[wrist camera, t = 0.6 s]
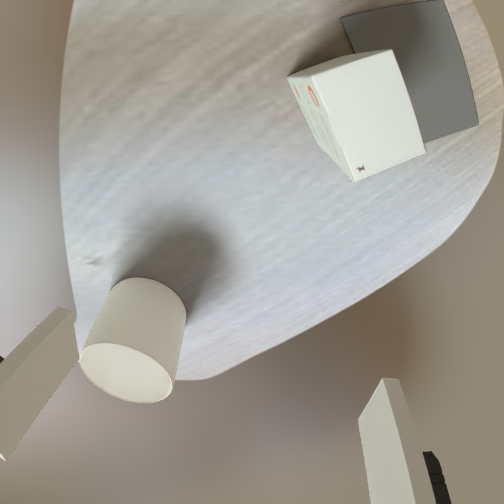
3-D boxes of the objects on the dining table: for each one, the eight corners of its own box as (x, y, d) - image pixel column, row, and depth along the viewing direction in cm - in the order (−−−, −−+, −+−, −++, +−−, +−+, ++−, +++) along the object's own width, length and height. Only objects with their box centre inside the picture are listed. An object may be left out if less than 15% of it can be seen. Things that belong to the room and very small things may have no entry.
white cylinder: (98, 313, 45) (69, 373, 34) (127, 261, 40) (94, 325, 30) (163, 349, 48) (149, 413, 38) (202, 305, 44) (191, 376, 33)
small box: (369, 123, 31) (428, 155, 20) (316, 144, 33) (352, 186, 21) (341, 54, 27) (393, 47, 16) (284, 75, 29) (307, 76, 18)
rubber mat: (339, 18, 25) (340, 17, 25) (441, -1, 23) (442, -1, 22) (389, 154, 33) (390, 155, 33) (477, 124, 30) (478, 125, 30)
